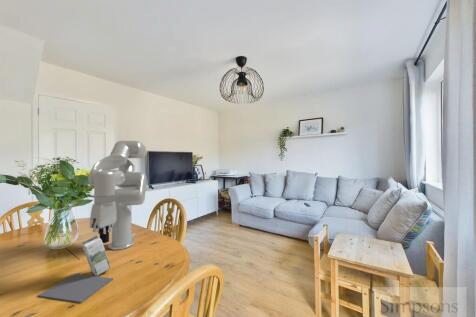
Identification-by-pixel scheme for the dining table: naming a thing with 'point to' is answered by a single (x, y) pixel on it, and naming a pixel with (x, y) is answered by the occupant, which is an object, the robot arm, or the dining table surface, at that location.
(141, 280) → the dining table surface
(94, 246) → the syrup box
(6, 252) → the dining table surface
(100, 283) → the mat
